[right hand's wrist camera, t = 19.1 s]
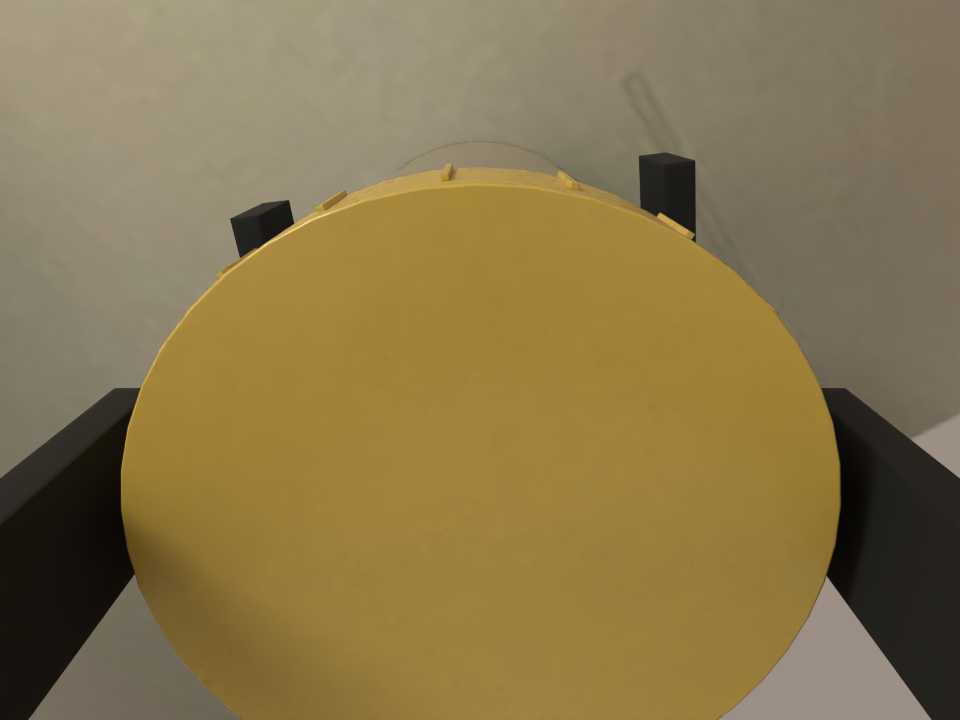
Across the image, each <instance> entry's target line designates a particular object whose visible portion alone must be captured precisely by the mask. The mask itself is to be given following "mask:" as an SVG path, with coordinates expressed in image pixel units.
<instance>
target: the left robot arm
mask: <svg viewBox="0 0 960 720" xmlns="http://www.w3.org/2000/svg"><path fill="white" fill-rule="evenodd" d="M639 171H640V199H641V209H643V210H645V211H647V212H649V213H651V214H653V215H654V216H656V217H657V216H658V214H659V213H662V214H663V215H665V216H666V217H668V218H670V219H671V220H673V221H675V222H676V223H678V224H679V225H681V226H683V227H684V228H686V229H687V230H689V231H691V232H692V233H694V234H695V235H694V237H693V238H692V241H693V242H695V243H696V210H695V160H691V159H687V158H684V157H680V156H677V155H673V154H669V153H659V154H651V155H643V156H639ZM230 220H231V224H232V228H233V232H234V236H235V240H236V244H237V248H238V251H239V255H240V258H242V257H243V256H245V255H246V254H248V253H249V252H251V251H252V250H254V249H255V248H257V249H258V248H260V247H261V246H262V245H264V244H265V243H267V242H268V241H270V240H271V239H273V238H274V237H276V236H277V235H279V234H280V233H282V232H283V231H285V230H286V229H288V228H289V227H291V226H292V225H294V221H293V216H292V212H291V207H290V203H289V200H285V201H277V202H269V203H263V204H261V205H258V206H256V207H254V208H252V209H250V210H248V211H246V212H244V213H241V214H239V215H237V216H235V217H233V218H231V219H230Z"/></svg>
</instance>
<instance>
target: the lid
mask: <svg viewBox="0 0 960 720" xmlns="http://www.w3.org/2000/svg"><path fill="white" fill-rule="evenodd" d="M316 210H317V211H315V212H313V213H311V214H309V215H308V216H306V217H304V218H303V219H301V220H300V221H298V222H297V223H295V224H294V225H292V226H291V227H289V228H288V229H286V230H285V231H283V232H282V233H280V234H279V235H277V236H276V237H274V238H273V239H271V240H270V241H268V242H267V243H265V244H264V245H262V246H261V247H260V248H258V249H257V248H255V249H254V250H252V251H251V252H249V253H248V254H246V255H245V256H243V257H242V258H240V259H239V260H237V261H235V262H234V263H232V264H231V265H229V266H228V267H226V268H225V269H223V270H222V271H220V272H219V273H218V274H217V275H216V277H217V278H218V279H219V280H218V281H217V282H215V283H214V284H213V285H212V286H211V287H210V288H209V289H208V290H207V291H206V292H205V293H204V294H203V295H202V296H201V297H200V298H199V299H198V300H197V301H196V302H195V303H194V304H193V305H192V306H191V307H190V309H189V310H188V311H187V313H186V314H185V315H184V317H183V318H182V319H181V321H180V322H179V324H178V325H177V326H176V328H175V329H174V330H173V332H172V333H171V334H170V336H169V337H168V339H167V340H166V341H165V343H164V344H163V345H162V347H161V349H160V351H159V353H158V355H157V357H156V359H155V361H154V363H153V364H152V366H151V368H150V370H149V372H148V374H147V376H146V378H145V380H144V382H143V384H142V386H141V389H140V392H139V395H138V398H137V401H136V404H135V407H134V410H133V413H132V416H131V419H130V422H129V425H128V430H127V436H126V442H125V449H124V455H123V461H122V468H121V512H122V518H123V525H124V531H125V538H126V544H127V550H128V553H129V556H130V560H131V563H132V566H133V569H134V572H135V575H136V579H137V582H138V585H139V588H140V590H141V592H142V594H143V596H144V598H145V600H146V602H147V605H148V607H149V609H150V611H151V613H152V615H153V617H154V619H155V621H156V623H157V625H158V626H159V628H160V629H161V631H162V632H163V634H164V635H165V637H166V638H167V640H168V641H169V643H170V644H171V646H172V647H173V649H174V650H175V652H176V653H177V655H178V656H179V657H180V658H181V660H182V661H183V662H184V663H185V664H186V665H187V667H188V668H189V669H190V670H191V671H192V672H193V674H194V675H195V676H196V677H197V678H198V679H199V681H200V682H201V683H202V684H203V685H204V686H205V687H206V688H207V689H208V690H210V691H211V692H212V693H213V694H214V695H215V696H216V697H217V698H218V699H219V700H220V701H221V702H223V703H224V704H225V705H226V706H227V707H228V708H229V709H230V710H231V711H233V712H234V713H236V714H237V715H238V716H240V717H241V718H242V719H244V720H718V719H719V718H720V717H722V716H723V715H724V714H726V713H727V712H728V711H730V710H731V709H732V708H734V707H735V706H736V705H737V704H738V703H739V702H740V701H741V700H742V699H744V698H745V697H746V696H747V695H748V694H749V693H750V692H751V691H752V690H753V689H754V688H755V687H756V686H757V685H758V684H759V683H760V682H761V681H763V679H764V678H765V677H766V676H767V675H768V673H769V672H770V671H771V670H772V669H773V667H774V666H775V665H776V664H777V663H778V661H779V660H780V659H781V658H782V657H783V655H784V654H785V653H786V652H787V650H788V649H789V647H790V646H791V644H792V643H793V641H794V639H795V638H796V636H797V635H798V633H799V632H800V630H801V628H802V627H803V625H804V624H805V622H806V620H807V619H808V617H809V615H810V613H811V611H812V608H813V606H814V604H815V602H816V600H817V598H818V595H819V593H820V591H821V589H822V587H823V584H824V582H825V579H826V575H827V572H828V569H829V565H830V562H831V558H832V555H833V552H834V548H835V545H836V538H837V530H838V523H839V516H840V509H841V479H840V460H839V454H838V449H837V443H836V437H835V432H834V426H833V421H832V418H831V415H830V413H829V410H828V407H827V404H826V401H825V398H824V396H823V393H822V390H821V387H820V384H819V381H818V379H817V377H816V375H815V374H814V372H813V370H812V368H811V366H810V364H809V363H808V361H807V359H806V357H805V355H804V353H803V351H802V350H801V348H800V346H799V344H798V342H797V340H796V339H795V338H794V337H793V335H792V334H791V333H790V331H789V330H788V329H787V327H786V326H785V325H784V324H783V322H782V321H781V320H780V318H779V317H778V316H777V315H779V313H778V312H777V311H776V309H774V308H773V307H772V306H770V305H769V304H768V303H767V302H766V301H765V300H764V299H763V298H762V297H761V296H760V295H759V294H758V293H757V292H756V291H755V290H754V289H753V288H752V287H751V286H750V285H748V284H747V283H746V282H745V281H744V280H743V279H742V278H741V277H740V276H739V275H738V274H737V273H736V272H735V271H734V270H733V269H732V268H730V267H729V266H727V265H726V264H725V263H723V262H722V261H720V260H719V259H718V258H716V257H715V256H713V255H712V254H710V253H709V252H708V251H706V250H705V249H703V248H702V247H701V246H699V245H698V244H696V243H695V242H693V241H692V238H693V237H694V235H695V234H694V233H692V232H691V231H689V230H687V229H686V228H684V227H683V226H681V225H679V224H678V223H676V222H675V221H673V220H671V219H670V218H668V217H666V216H665V215H663V214H662V213H659V214H658V216H657V217H656V216H654V215H653V214H651V213H649V212H647V211H645V210H643V209H641V208H639V207H638V206H636V205H634V204H632V203H630V202H628V201H626V200H624V199H622V198H620V197H618V196H616V195H614V194H612V193H609V192H606V191H603V190H601V189H598V188H595V187H592V186H589V185H586V184H583V183H580V182H577V181H575V180H574V179H573V178H571V177H570V176H569V175H568V174H567V173H565V172H562V171H559V172H558V175H557V176H553V175H548V174H543V173H538V172H533V171H528V170H519V169H502V168H485V167H472V168H459V169H453V163H447V164H446V165H445V167H444V169H443V170H433V171H428V172H423V173H418V174H414V175H409V176H404V177H400V178H395V179H391V180H386V181H384V182H381V183H378V184H375V185H373V186H370V187H367V188H364V189H362V190H359V191H356V192H353V193H351V194H348V195H347V194H346V192H345V190H343V191H341V192H339V193H337V194H336V195H334V196H333V197H331V198H329V199H328V200H326V201H325V202H323V203H322V204H320V205H319V206H317V207H316Z"/></svg>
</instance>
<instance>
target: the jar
mask: <svg viewBox="0 0 960 720" xmlns="http://www.w3.org/2000/svg"><path fill="white" fill-rule="evenodd" d="M447 163H453V169H459V168H472V167H485V168H502V169H519V170H528V171H533V172H538V173H543V174H548V175H553V176H557V175H558V172H559V171H562V172H565V171H563V170H562V169H561V168H559V167H558V166H556V165H555V164H553V163H552V162H550V161H549V160H547V159H546V158H543V157H541V156H539V155H537V154H535V153H533V152H531V151H528V150H525V149H522V148H519V147H516V146H513V145H507V144H502V143H496V142H467V143H457V144H453V145H449V146H445V147H441V148H438V149H435V150H433V151H430V152H428V153H425V154H423V155H421V156H419V157H417V158H416V159H414V160H412V161H410V162H409V163H407V164H406V165H404V166H403V167H402V168H400V169H399V170H398V171H396V172H395V173H394V174H392V175H391V176H390V177H389V178H388V179H386V180H391V179H395V178H400V177H404V176H409V175H414V174H418V173H423V172H428V171H433V170H443V169H444V167H445V165H446V164H447ZM565 173H566V172H565ZM570 177H571V176H570ZM571 178H572V177H571ZM386 180H385V181H386Z"/></svg>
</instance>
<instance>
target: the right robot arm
mask: <svg viewBox="0 0 960 720" xmlns="http://www.w3.org/2000/svg"><path fill="white" fill-rule="evenodd" d="M140 389H141V388H115V389H113V390H112V391H111V392H109V393H108V394H107V395H106V396H104V397H103V398H102V399H101V400H99V401H98V402H97V403H95V404H94V405H93V406H92V407H90V408H89V409H88V410H87V411H85V412H84V413H83V414H82V415H80V416H79V417H78V418H76V419H75V420H74V421H73V422H71V423H70V424H69V425H68V426H66V427H65V428H64V429H62V430H61V431H60V432H59V433H57V434H56V435H55V436H54V437H52V438H51V439H50V440H48V441H47V442H46V443H45V444H43V445H42V446H41V447H40V448H38V449H37V450H36V451H35V452H33V453H32V454H31V455H29V456H28V457H27V458H26V459H24V460H23V461H22V462H21V463H19V464H18V465H17V466H15V467H14V468H13V469H12V470H10V471H9V472H8V473H7V474H5V475H4V476H3V477H1V478H0V720H28V719H29V718H30V717H31V715H32V714H33V713H34V711H35V710H36V709H37V707H38V706H39V704H40V703H41V702H42V700H43V699H44V698H45V696H46V695H47V693H48V692H49V691H50V689H51V688H52V687H53V685H54V684H55V682H56V681H57V680H58V678H59V677H60V676H61V674H62V673H63V672H64V670H65V669H66V667H67V666H68V665H69V663H70V662H71V661H72V659H73V658H74V656H75V655H76V654H77V652H78V651H79V650H80V648H81V647H82V645H83V644H84V643H85V641H86V640H87V639H88V637H89V636H90V635H91V633H92V632H93V630H94V629H95V628H96V626H97V625H98V624H99V622H100V621H101V619H102V618H103V617H104V615H105V614H106V613H107V611H108V610H109V608H110V607H111V606H112V604H113V603H114V602H115V600H116V599H117V598H118V596H119V595H120V593H121V592H122V591H123V589H124V588H125V587H126V585H127V584H128V582H129V581H130V580H131V578H132V577H133V576H134V574H135V572H134V569H133V566H132V563H131V560H130V556H129V553H128V550H127V544H126V538H125V531H124V525H123V518H122V512H121V468H122V461H123V455H124V449H125V442H126V436H127V430H128V425H129V422H130V419H131V416H132V413H133V410H134V407H135V404H136V401H137V398H138V395H139V392H140ZM821 390H822V393H823V396H824V398H825V401H826V404H827V407H828V410H829V413H830V415H831V418H832V421H833V426H834V432H835V437H836V443H837V449H838V454H839V460H840V479H841V509H840V516H839V523H838V530H837V538H836V545H835V548H834V552H833V555H832V558H831V562H830V565H829V569H828V572H827V575H826V576H827V577H828V578H829V580H830V581H831V582H832V584H833V585H834V587H835V588H836V589H837V591H838V592H839V593H840V595H841V596H842V598H843V599H844V600H845V602H846V603H847V604H848V606H849V607H850V608H851V610H852V611H853V613H854V614H855V615H856V617H857V618H858V619H859V621H860V622H861V624H862V625H863V626H864V628H865V629H866V630H867V632H868V633H869V635H870V636H871V637H872V639H873V640H874V641H875V643H876V644H877V645H878V647H879V648H880V650H881V651H882V652H883V654H884V655H885V656H886V658H887V659H888V661H889V662H890V663H891V665H892V666H893V667H894V669H895V670H896V672H897V673H898V674H899V676H900V677H901V678H902V680H903V681H904V682H905V684H906V685H907V687H908V688H909V689H910V691H911V692H912V693H913V695H914V696H915V697H916V699H917V700H918V702H919V703H920V704H921V706H922V707H923V709H924V710H925V711H926V713H927V714H928V715H929V717H930V718H931V719H932V720H960V478H959V477H957V476H956V475H955V474H953V473H952V472H951V471H950V470H948V469H947V468H946V467H945V466H943V465H942V464H941V463H939V462H938V461H937V460H936V459H934V458H933V457H932V456H931V455H929V454H928V453H927V452H925V451H924V450H923V449H922V448H920V447H919V446H918V445H917V444H915V443H914V442H913V441H912V440H910V439H909V438H908V437H906V436H905V435H904V434H903V433H901V432H900V431H899V430H898V429H896V428H895V427H894V426H892V425H891V424H890V423H889V422H887V421H886V420H885V419H884V418H882V417H881V416H880V415H878V414H877V413H876V412H875V411H873V410H872V409H871V408H870V407H868V406H867V405H866V404H865V403H863V402H862V401H861V400H859V399H858V398H857V397H856V396H854V395H853V394H852V393H851V392H849V391H848V390H847V389H845V388H821Z"/></svg>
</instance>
